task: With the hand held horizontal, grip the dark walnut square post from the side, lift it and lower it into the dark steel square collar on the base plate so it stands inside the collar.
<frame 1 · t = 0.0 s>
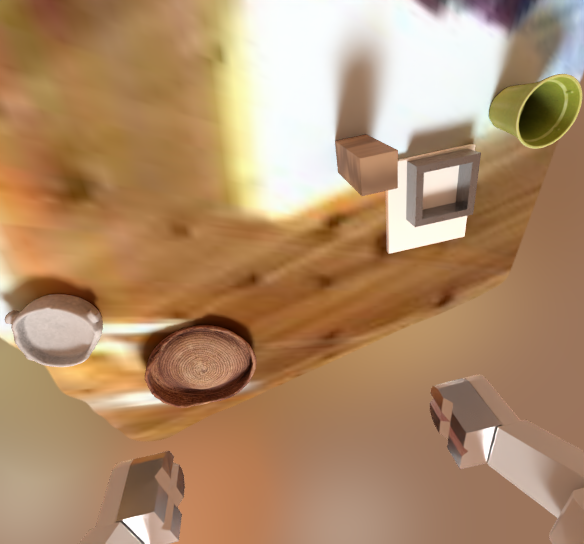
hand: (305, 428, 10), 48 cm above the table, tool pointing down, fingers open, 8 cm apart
dish: (65, 320, 63), on the table
basket: (204, 357, 73), on the table
walnut post: (351, 153, 54), on the table
plant pot: (505, 106, 55), on the table
steel collar: (440, 188, 57), on the base plate, point 3 cm above the table
base plate: (432, 183, 59), on the table
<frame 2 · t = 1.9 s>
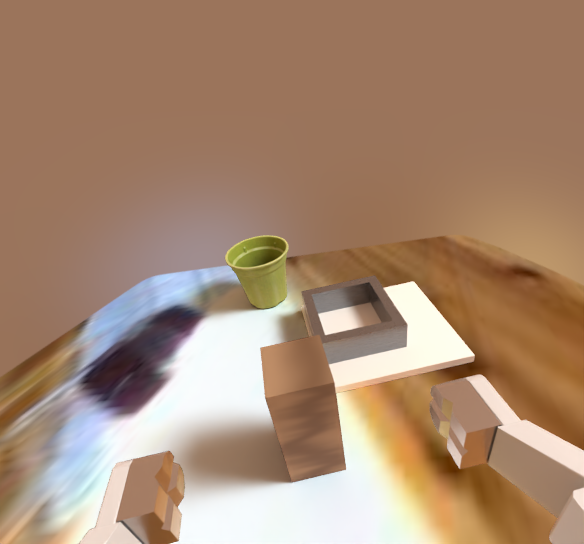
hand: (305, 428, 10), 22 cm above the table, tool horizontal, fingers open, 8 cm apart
walnut post: (313, 449, 33), on the table
plant pot: (268, 298, 54), on the table
steel collar: (350, 317, 43), on the base plate, point 3 cm above the table
base plate: (351, 332, 45), on the table
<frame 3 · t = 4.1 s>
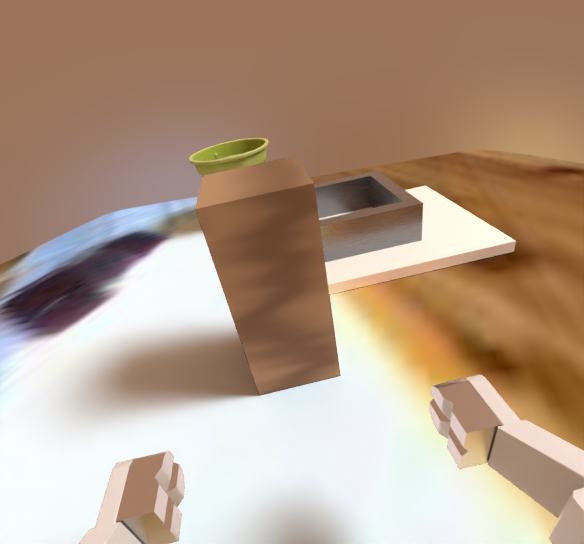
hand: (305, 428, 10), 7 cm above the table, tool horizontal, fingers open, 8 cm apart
walnut post: (293, 355, 22), on the table
plant pot: (246, 218, 44), on the table
steel collar: (345, 213, 33), on the base plate, point 3 cm above the table
base plate: (348, 238, 35), on the table
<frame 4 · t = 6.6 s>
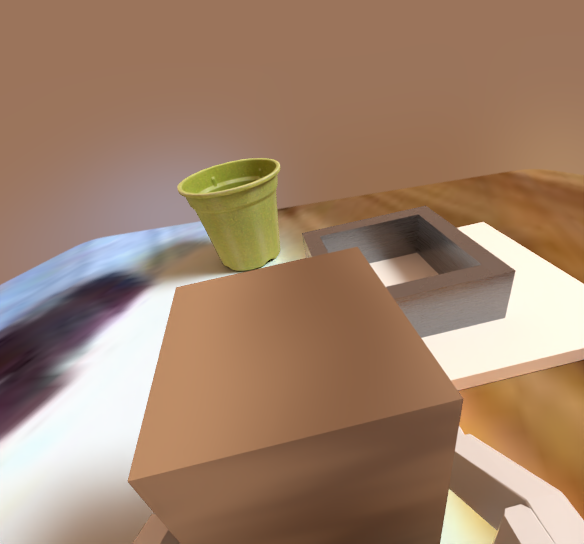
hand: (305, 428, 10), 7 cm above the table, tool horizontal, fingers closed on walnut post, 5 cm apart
plant pot: (251, 257, 35), on the table
steel collar: (389, 269, 24), on the base plate, point 3 cm above the table
base plate: (390, 300, 26), on the table
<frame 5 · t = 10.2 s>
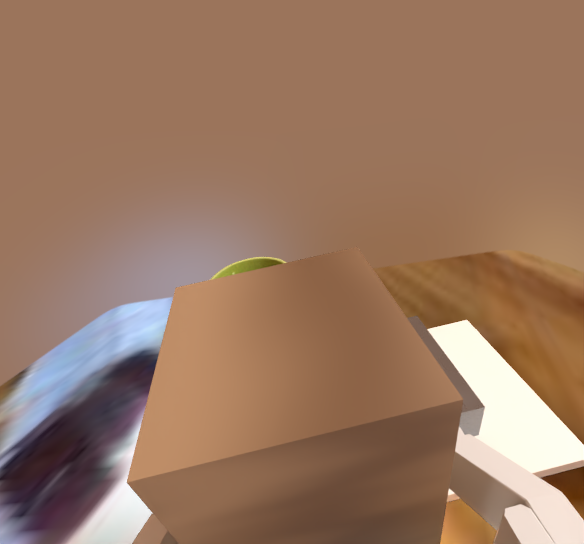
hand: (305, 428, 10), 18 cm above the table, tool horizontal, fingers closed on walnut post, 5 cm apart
plant pot: (266, 340, 40), on the table
steel collar: (386, 382, 29), on the base plate, point 3 cm above the table
base plate: (387, 402, 31), on the table
when the fingers open (9 cm above the table, at t = 14.0 s): walnut post drops 1 cm, resting on base plate.
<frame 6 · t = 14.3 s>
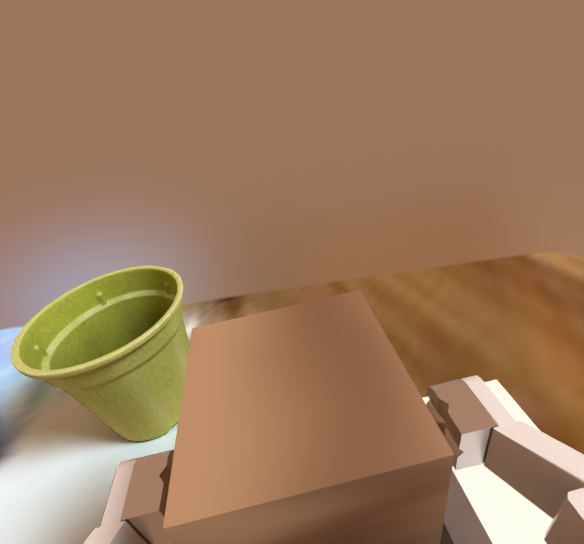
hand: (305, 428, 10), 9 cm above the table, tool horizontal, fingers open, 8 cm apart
plant pot: (159, 403, 24), on the table
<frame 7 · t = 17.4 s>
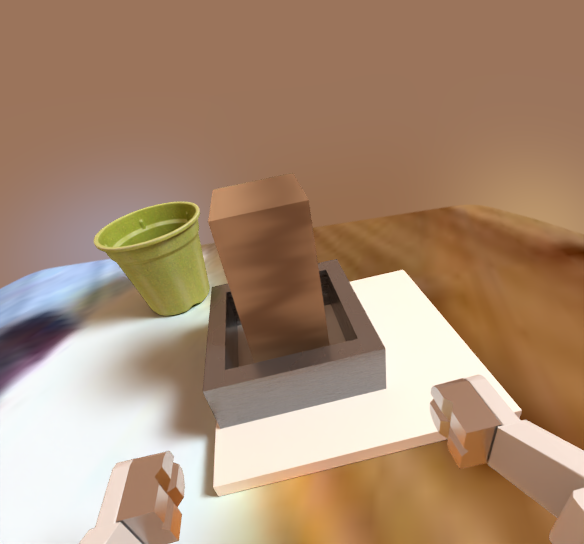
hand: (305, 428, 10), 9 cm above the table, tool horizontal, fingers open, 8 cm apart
walnut post: (291, 348, 25), point 1 cm above the table, touching base plate
plant pot: (181, 299, 35), on the table
steel collar: (287, 331, 24), on the base plate, point 3 cm above the table
base plate: (293, 357, 26), on the table
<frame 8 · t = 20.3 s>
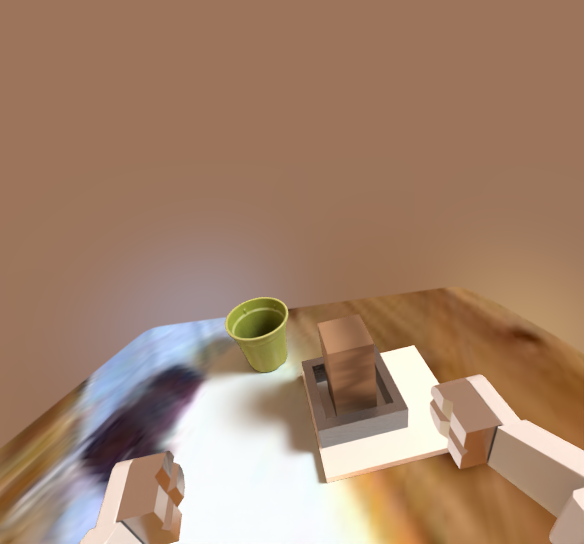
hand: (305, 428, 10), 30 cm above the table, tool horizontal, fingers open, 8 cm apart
walnut post: (351, 401, 44), point 1 cm above the table, touching base plate
plant pot: (268, 358, 54), on the table
steel collar: (350, 392, 43), on the base plate, point 3 cm above the table
base plate: (352, 405, 45), on the table
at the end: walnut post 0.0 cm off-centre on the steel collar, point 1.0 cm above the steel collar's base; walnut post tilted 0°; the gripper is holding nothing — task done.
